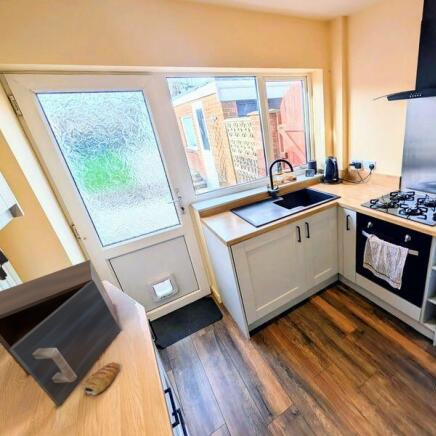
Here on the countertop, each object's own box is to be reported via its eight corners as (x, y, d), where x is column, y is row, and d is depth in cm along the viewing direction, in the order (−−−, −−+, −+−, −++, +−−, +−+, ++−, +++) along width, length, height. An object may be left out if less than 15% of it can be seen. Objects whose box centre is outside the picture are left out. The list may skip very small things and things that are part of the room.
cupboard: (119, 329, 96) (91, 279, 86) (27, 375, 81) (-18, 322, 71) (114, 305, 109) (89, 259, 99) (34, 341, 94) (-4, 292, 84)
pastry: (109, 364, 82) (104, 356, 80) (125, 367, 81) (121, 359, 79) (82, 393, 74) (76, 385, 72) (100, 397, 72) (94, 389, 71)
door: (135, 329, 95) (109, 279, 85) (79, 405, 71) (34, 348, 61) (117, 330, 95) (90, 280, 85) (56, 405, 71) (8, 349, 61)
